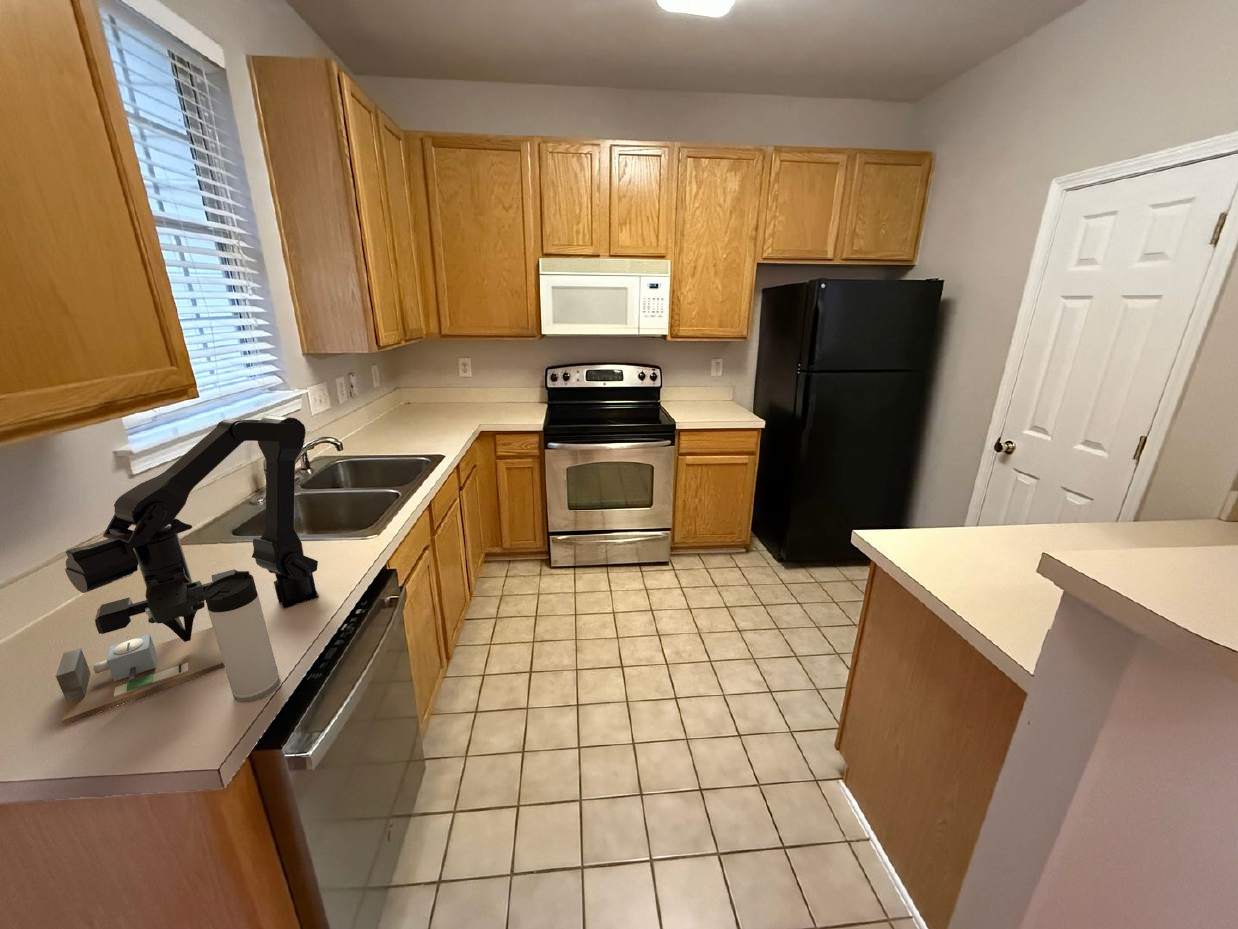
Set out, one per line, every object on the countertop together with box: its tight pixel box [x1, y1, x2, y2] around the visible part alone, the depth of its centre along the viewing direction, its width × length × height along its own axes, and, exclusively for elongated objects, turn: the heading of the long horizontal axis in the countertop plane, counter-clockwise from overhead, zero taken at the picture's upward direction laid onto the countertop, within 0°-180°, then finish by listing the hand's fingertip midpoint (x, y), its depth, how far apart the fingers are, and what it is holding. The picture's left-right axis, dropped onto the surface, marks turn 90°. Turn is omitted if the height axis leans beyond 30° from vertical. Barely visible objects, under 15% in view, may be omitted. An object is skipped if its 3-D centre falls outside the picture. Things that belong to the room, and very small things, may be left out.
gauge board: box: [55, 626, 225, 726], centre depth 85 cm, size 22×14×6 cm, turn 131°
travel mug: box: [204, 570, 281, 704], centre depth 78 cm, size 6×7×20 cm
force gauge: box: [92, 633, 156, 683], centre depth 81 cm, size 7×9×4 cm
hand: (187, 640), depth 88 cm, fingers closed
